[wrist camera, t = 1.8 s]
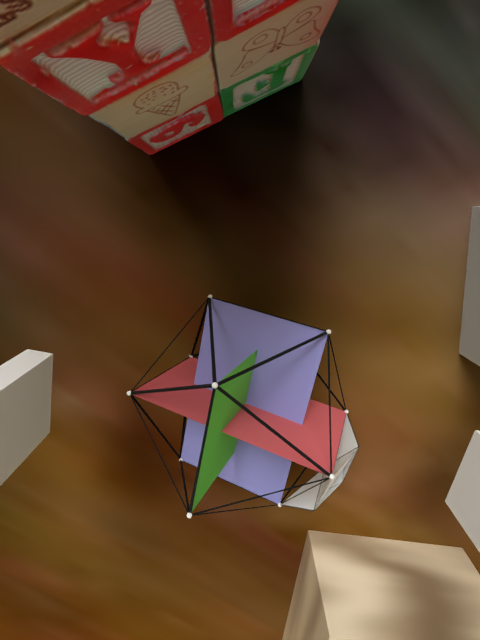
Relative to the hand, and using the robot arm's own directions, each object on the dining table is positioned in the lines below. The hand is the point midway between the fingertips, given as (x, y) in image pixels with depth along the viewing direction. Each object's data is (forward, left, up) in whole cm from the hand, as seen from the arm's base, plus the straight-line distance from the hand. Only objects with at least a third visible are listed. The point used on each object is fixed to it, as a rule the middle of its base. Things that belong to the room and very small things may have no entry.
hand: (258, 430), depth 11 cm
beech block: (+9, -12, -5) cm, 16 cm away
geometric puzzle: (0, 0, -5) cm, 5 cm away
